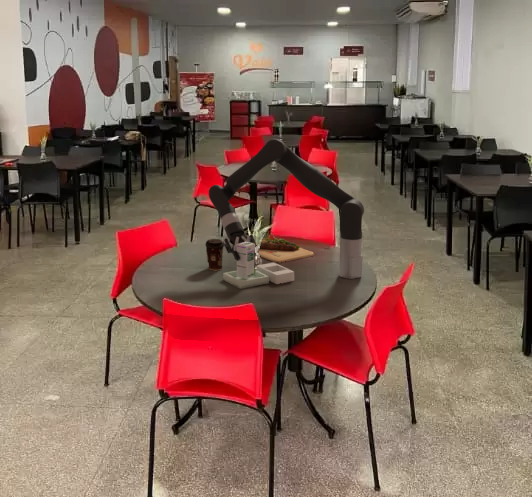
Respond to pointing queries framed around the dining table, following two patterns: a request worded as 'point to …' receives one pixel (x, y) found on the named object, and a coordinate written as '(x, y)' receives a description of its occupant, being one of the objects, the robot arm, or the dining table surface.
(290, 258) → the cutting board
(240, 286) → the tray
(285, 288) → the dining table surface
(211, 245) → the coffee cup
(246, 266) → the syrup box
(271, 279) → the holder
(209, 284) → the dining table surface
